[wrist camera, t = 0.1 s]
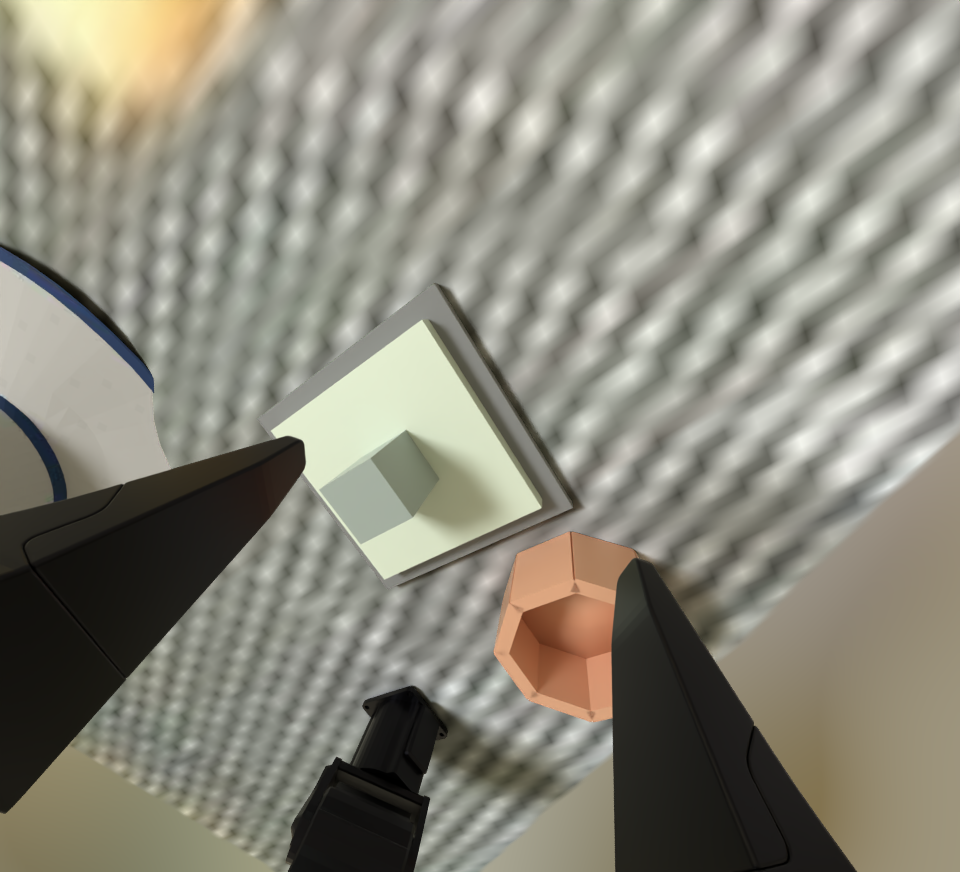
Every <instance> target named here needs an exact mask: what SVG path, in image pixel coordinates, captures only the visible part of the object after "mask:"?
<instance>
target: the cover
mask: <svg viewBox="0 0 960 872" xmlns="http://www.w3.org/2000/svg"><path fill="white" fill-rule="evenodd" d="M271 432H272V433H273V435H274V436H275V437H276V439H277V438H280V437H284V436H292V437H295V438H298V439H301V440H302V441H303V442H304V445H305V456H306V466H305V469H304V471H303V474H304V475H305V477H306V478H307V479H308V480H309V482H310V483H311V484H312V486H313V487H314V488H315V490H316V491H317V492H318V494H319V495H320V496H321V497H322V499H323V500H324V501H325V503H326V504H327V505H328V507H329V508H330V509H331V511H332V512H333V513H334V515H335V516H336V517H337V518H338V520H339V521H340V522H341V524H342V525H343V526H344V528H345V529H346V530H347V532H348V533H349V534H350V535H351V537H352V538H353V539H354V541H355V542H356V543H357V545H358V546H359V547H360V549H361V550H362V551H363V553H364V554H365V555H366V556H367V558H368V559H369V560H370V562H371V563H372V564H373V566H374V567H375V568H376V570H377V571H378V572H379V573H380V575H381V576H382V577H383V579H384V580H385V579H387V578H389V577H391V576H393V575H396V574H398V573H400V572H402V571H404V570H407V569H409V568H411V567H413V566H415V565H418V564H420V563H422V562H424V561H426V560H429V559H431V558H433V557H435V556H437V555H440V554H442V553H444V552H446V551H448V550H451V549H453V548H455V547H457V546H459V545H462V544H464V543H466V542H468V541H470V540H473V539H475V538H477V537H479V536H481V535H484V534H486V533H488V532H490V531H492V530H495V529H497V528H499V527H501V526H503V525H506V524H508V523H510V522H512V521H514V520H517V519H519V518H521V517H523V516H525V515H528V514H530V513H532V512H534V511H536V510H539V509H541V508H542V498H541V496H540V495H539V493H538V492H537V490H536V488H535V487H534V485H533V484H532V482H531V480H530V479H529V477H528V476H527V474H526V473H525V471H524V469H523V468H522V466H521V465H520V463H519V462H518V460H517V458H516V457H515V455H514V454H513V452H512V450H511V449H510V447H509V446H508V444H507V443H506V441H505V439H504V438H503V436H502V435H501V433H500V432H499V430H498V428H497V427H496V425H495V424H494V422H493V420H492V419H491V417H490V416H489V414H488V413H487V411H486V409H485V408H484V406H483V405H482V403H481V402H480V400H479V398H478V397H477V395H476V394H475V392H474V390H473V389H472V387H471V386H470V384H469V383H468V381H467V379H466V378H465V376H464V375H463V373H462V372H461V370H460V368H459V367H458V365H457V364H456V362H455V360H454V359H453V357H452V356H451V354H450V353H449V351H448V349H447V348H446V346H445V345H444V343H443V342H442V340H441V338H440V337H439V335H438V334H437V332H436V330H435V329H434V327H433V326H432V324H431V323H430V321H429V319H424V320H421V321H419V322H418V323H417V324H415V325H414V326H412V327H411V328H410V329H408V330H407V331H406V332H404V333H403V334H402V335H400V336H399V337H398V338H396V339H395V340H393V341H392V342H391V343H389V344H388V345H387V346H385V347H384V348H383V349H381V350H380V351H379V352H377V353H376V354H374V355H373V356H372V357H370V358H369V359H368V360H366V361H365V362H364V363H362V364H361V365H360V366H358V367H357V368H355V369H354V370H353V371H351V372H350V373H349V374H347V375H346V376H345V377H343V378H342V379H340V380H339V381H338V382H336V383H335V384H334V385H332V386H331V387H330V388H328V389H327V390H326V391H324V392H323V393H321V394H320V395H319V396H317V397H316V398H315V399H313V400H312V401H311V402H309V403H308V404H307V405H305V406H304V407H302V408H301V409H300V410H298V411H297V412H296V413H294V414H293V415H292V416H290V417H289V418H288V419H286V420H285V421H283V422H282V423H281V424H279V425H278V426H277V427H275V428H274V429H273V430H271Z"/></svg>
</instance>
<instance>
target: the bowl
mask: <svg viewBox="0 0 960 872" xmlns="http://www.w3.org/2000/svg"><path fill="white" fill-rule="evenodd" d="M633 558H639V557H638V555H637V553H636V552H635V551H634V550H633V549H631V548H627V547H624V546H620V545H617V544H613V543H610V542H607V541H603V540H600V539H596V538H593V537H589V536H586V535H582V534H579V533H575V532H571V533H570V532H567V533H565V534H563V535H560V536H558V537H556V538H553V539H551V540H548V541H546V542H544V543H541V544H539V545H536V546H534V547H532V548H529V549H527V550H524V551H522V552H520V553H517V555H516V557H515V561H514V564H513V567H512V571H511V574H510V577H509V581H508V584H507V587H506V591H505V594H504V597H503V602H502V608H501V613H500V619H499V624H498V630H497V636H496V641H495V647H494V655H495V656H496V657H497V659H498V660H499V662H500V663H501V664H502V666H503V667H504V668H505V670H506V671H507V673H508V674H509V675H510V677H511V678H512V679H513V681H514V682H515V683H516V685H517V686H518V688H519V689H520V690H521V692H522V693H523V694H524V696H525V697H526V699H529V701H531V702H534V703H537V704H540V705H543V706H546V707H549V708H552V709H555V710H558V711H560V712H563V713H566V714H569V715H572V716H575V717H578V718H581V719H584V720H587V721H589V722H592V721H593V722H597V721H601V720H606V719H610V718H612V666H611V642H612V629H613V619H614V608H615V598H616V587H617V581H618V578H619V576H620V574H621V573H622V572H623V570H624V569H625V568H626V566H627V565H628V564H629V562H630V561H631V560H632V559H633ZM639 559H640V558H639Z"/></svg>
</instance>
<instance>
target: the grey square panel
mask: <svg viewBox="0 0 960 872" xmlns="http://www.w3.org/2000/svg"><path fill="white" fill-rule="evenodd" d="M424 319H429V321H430V323H431V324H432V326H433V327H434V329H435V330H436V332H437V334H438V335H439V337H440V338H441V340H442V342H443V343H444V345H445V346H446V348H447V349H448V351H449V353H450V354H451V356H452V357H453V359H454V360H455V362H456V364H457V365H458V367H459V368H460V370H461V372H462V373H463V375H464V376H465V378H466V379H467V381H468V383H469V384H470V386H471V387H472V389H473V390H474V392H475V394H476V395H477V397H478V398H479V400H480V402H481V403H482V405H483V406H484V408H485V409H486V411H487V413H488V414H489V416H490V417H491V419H492V420H493V422H494V424H495V425H496V427H497V428H498V430H499V432H500V433H501V435H502V436H503V438H504V439H505V441H506V443H507V444H508V446H509V447H510V449H511V450H512V452H513V454H514V455H515V457H516V458H517V460H518V462H519V463H520V465H521V466H522V468H523V469H524V471H525V473H526V474H527V476H528V477H529V479H530V480H531V482H532V484H533V485H534V487H535V488H536V490H537V492H538V493H539V495H540V496H541V498H542V508H541V509H539V510H536V511H534V512H532V513H530V514H528V515H525V516H523V517H521V518H519V519H517V520H514V521H512V522H510V523H508V524H506V525H503V526H501V527H499V528H497V529H495V530H492V531H490V532H488V533H486V534H484V535H481V536H479V537H477V538H475V539H473V540H470V541H468V542H466V543H464V544H462V545H459V546H457V547H455V548H453V549H451V550H448V551H446V552H444V553H442V554H440V555H437V556H435V557H433V558H431V559H429V560H426V561H424V562H422V563H420V564H418V565H415V566H413V567H411V568H409V569H407V570H404V571H402V572H400V573H398V574H396V575H393V576H391V577H389V578H387V579H385V580H384V579H383V577H382V576H381V575H380V573H379V572H378V571H377V570H376V568H375V567H374V566H373V564H372V563H371V562H370V560H369V559H368V558H367V556H366V555H365V554H364V553H363V551H362V550H361V549H360V547H359V546H358V545H357V543H356V542H355V541H354V539H353V538H352V537H351V535H350V534H349V533H348V532H347V530H346V529H345V528H344V526H343V525H342V524H341V522H340V521H339V520H338V518H337V517H336V516H335V515H334V513H333V512H332V511H331V509H330V508H329V507H328V505H327V504H326V503H325V501H324V500H323V499H322V497H321V496H320V495H319V494H318V492H317V491H316V490H315V488H314V487H313V486H312V484H311V483H310V482H309V480H308V479H307V478H306V477H305V475H304V474H303V473H302V474H301V475H300V476H301V477H302V478H303V480H304V481H305V482H306V484H307V485H308V486H309V488H310V489H311V490H312V491H313V493H314V494H315V495H316V497H317V498H318V499H319V501H320V502H321V503H322V505H323V506H324V507H325V508H326V510H327V511H328V512H329V514H330V515H331V516H332V518H333V519H334V520H335V522H336V523H337V524H338V525H339V527H340V528H341V529H342V531H343V532H344V533H345V535H346V536H347V537H348V538H349V540H350V541H351V542H352V544H353V545H354V546H355V548H356V549H357V550H358V552H359V553H360V554H361V555H362V557H363V558H364V559H365V561H366V562H367V563H368V565H369V566H370V567H371V569H372V570H373V571H374V572H375V574H376V575H377V576H378V578H379V579H380V580H381V582H382V583H383V584H384V585H385V587H386V588H387V589H390V588H392V587H395V586H397V585H399V584H401V583H404V582H406V581H408V580H411V579H413V578H415V577H417V576H420V575H422V574H424V573H426V572H429V571H431V570H433V569H436V568H438V567H440V566H442V565H445V564H447V563H449V562H451V561H454V560H456V559H458V558H460V557H463V556H465V555H467V554H470V553H472V552H474V551H476V550H479V549H481V548H483V547H485V546H488V545H490V544H492V543H494V542H497V541H499V540H501V539H504V538H506V537H508V536H510V535H513V534H515V533H517V532H519V531H522V530H524V529H526V528H529V527H531V526H533V525H535V524H538V523H540V522H542V521H544V520H547V519H549V518H551V517H553V516H556V515H558V514H560V513H563V512H565V511H567V510H569V509H572V508H573V503H572V501H571V499H570V497H569V496H568V494H567V493H566V491H565V489H564V488H563V486H562V484H561V483H560V481H559V480H558V478H557V476H556V475H555V473H554V472H553V470H552V468H551V467H550V465H549V463H548V462H547V460H546V459H545V457H544V455H543V454H542V452H541V450H540V449H539V447H538V446H537V444H536V442H535V441H534V439H533V437H532V436H531V434H530V433H529V431H528V429H527V428H526V426H525V424H524V423H523V421H522V420H521V418H520V416H519V415H518V413H517V411H516V410H515V408H514V407H513V405H512V403H511V402H510V400H509V399H508V397H507V395H506V394H505V392H504V390H503V389H502V387H501V386H500V384H499V382H498V381H497V379H496V377H495V376H494V374H493V373H492V371H491V369H490V368H489V366H488V364H487V363H486V361H485V360H484V358H483V356H482V355H481V353H480V351H479V350H478V348H477V347H476V345H475V343H474V342H473V340H472V338H471V337H470V335H469V334H468V332H467V330H466V329H465V327H464V326H463V324H462V322H461V321H460V319H459V317H458V316H457V314H456V313H455V311H454V309H453V308H452V306H451V304H450V303H449V301H448V300H447V298H446V296H445V295H444V293H443V291H442V290H441V288H440V287H439V285H438V284H436V283H433V284H432V285H430V286H429V287H428V288H427V289H425V290H424V291H423V292H421V293H420V294H419V295H417V296H416V297H415V298H414V299H412V300H411V301H410V302H408V303H407V304H406V305H404V306H403V307H402V308H401V309H399V310H398V311H397V312H395V313H394V314H393V315H391V316H390V317H389V318H388V319H386V320H385V321H384V322H382V323H381V324H380V325H378V326H377V327H376V328H375V329H373V330H372V331H371V332H369V333H368V334H367V335H365V336H364V337H363V338H361V339H360V340H359V341H358V342H356V343H355V344H354V345H352V346H351V347H350V348H348V349H347V350H346V351H345V352H343V353H342V354H341V355H339V356H338V357H337V358H335V359H334V360H333V361H332V362H330V363H329V364H328V365H326V366H325V367H324V368H322V369H321V370H320V371H319V372H317V373H316V374H315V375H313V376H312V377H311V378H309V379H308V380H307V381H305V382H304V383H303V384H302V385H300V386H299V387H298V388H296V389H295V390H294V391H292V392H291V393H290V394H289V395H287V396H286V397H285V398H283V399H282V400H281V401H279V402H278V403H277V404H276V405H274V406H273V407H272V408H270V409H269V410H268V411H266V412H265V413H264V414H263V415H261V416H260V417H259V418H257V420H258V421H259V422H260V424H261V425H262V426H263V428H264V429H265V430H266V431H267V433H268V434H269V435H270V437H271V438H272V439H276V437H275V436H274V435H273V433H272V432H271V430H273V429H274V428H275V427H277V426H278V425H279V424H281V423H282V422H283V421H285V420H286V419H288V418H289V417H290V416H292V415H293V414H294V413H296V412H297V411H298V410H300V409H301V408H302V407H304V406H305V405H307V404H308V403H309V402H311V401H312V400H313V399H315V398H316V397H317V396H319V395H320V394H321V393H323V392H324V391H326V390H327V389H328V388H330V387H331V386H332V385H334V384H335V383H336V382H338V381H339V380H340V379H342V378H343V377H345V376H346V375H347V374H349V373H350V372H351V371H353V370H354V369H355V368H357V367H358V366H360V365H361V364H362V363H364V362H365V361H366V360H368V359H369V358H370V357H372V356H373V355H374V354H376V353H377V352H379V351H380V350H381V349H383V348H384V347H385V346H387V345H388V344H389V343H391V342H392V341H393V340H395V339H396V338H398V337H399V336H400V335H402V334H403V333H404V332H406V331H407V330H408V329H410V328H411V327H412V326H414V325H415V324H417V323H418V322H419V321H421V320H424Z"/></svg>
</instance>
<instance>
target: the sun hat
mask: <svg viewBox="0 0 960 872" xmlns="http://www.w3.org/2000/svg"><path fill="white" fill-rule="evenodd" d="M152 392H153V393H154V379H153V377H152V374H151V372H150V371H149V370H148V369H147V367H146V366H145V365H144V364H143V363H142V362H141V360H140V359H139V358H138V357H137V356H136V355H135V354H134V353H133V352H132V351H131V350H130V349H129V348H128V347H127V346H126V345H125V344H124V343H123V342H122V341H121V340H120V339H119V338H118V337H117V336H116V335H115V334H114V333H113V332H112V331H111V330H109V329H108V328H107V327H106V326H105V325H104V324H103V323H102V322H101V321H100V320H99V319H98V318H97V317H95V316H94V315H93V314H92V313H91V312H90V311H89V310H88V309H87V308H86V307H84V306H83V305H82V304H81V303H80V302H78V301H77V300H76V299H75V298H74V297H72V296H71V295H70V294H69V293H68V292H66V291H65V290H64V289H63V288H62V287H60V286H59V285H58V284H56V283H55V282H54V281H52V280H51V279H49V278H48V277H47V276H45V275H44V274H43V273H41V272H40V271H38V270H37V269H36V268H34V267H33V266H31V265H30V264H28V263H27V262H25V261H23V260H22V259H20V258H18V257H17V256H15V255H13V254H12V253H10V252H8V251H7V250H5V249H3V248H1V247H0V515H4V514H8V513H12V512H16V511H20V510H25V509H29V508H33V507H37V506H41V505H45V504H49V503H53V502H57V501H61V500H65V499H69V498H73V497H76V496H80V495H83V494H87V493H91V492H94V491H98V490H101V489H105V488H108V487H112V486H115V485H118V484H125V483H126V482H129V481H132V480H136V479H139V478H143V477H146V476H150V475H153V474H157V473H160V472H163V471H167V470H170V469H171V467H170V465H169V463H168V461H167V459H166V456H165V454H164V452H163V450H162V448H161V445H160V442H159V438H158V435H157V431H156V427H155V423H154V411H153V398H152Z"/></svg>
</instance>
